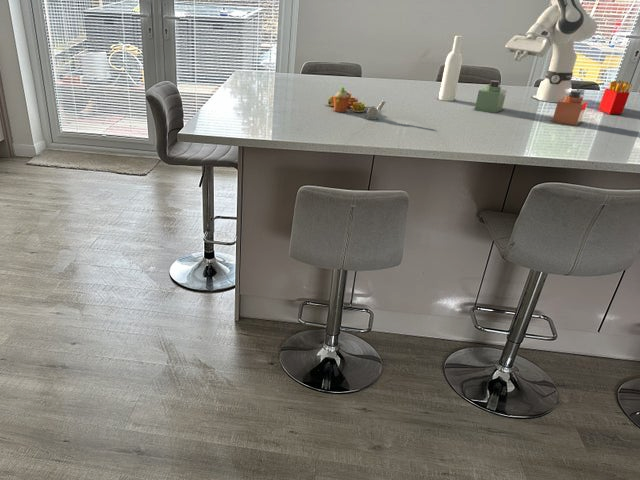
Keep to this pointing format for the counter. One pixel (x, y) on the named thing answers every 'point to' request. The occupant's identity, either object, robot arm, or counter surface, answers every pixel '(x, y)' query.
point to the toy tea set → (345, 102)
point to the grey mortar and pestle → (374, 111)
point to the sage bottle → (490, 99)
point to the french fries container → (615, 98)
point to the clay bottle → (569, 110)
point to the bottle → (451, 72)
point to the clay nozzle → (575, 94)
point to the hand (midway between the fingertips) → (516, 60)
